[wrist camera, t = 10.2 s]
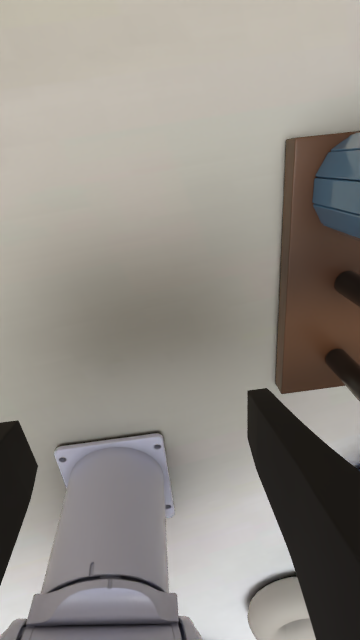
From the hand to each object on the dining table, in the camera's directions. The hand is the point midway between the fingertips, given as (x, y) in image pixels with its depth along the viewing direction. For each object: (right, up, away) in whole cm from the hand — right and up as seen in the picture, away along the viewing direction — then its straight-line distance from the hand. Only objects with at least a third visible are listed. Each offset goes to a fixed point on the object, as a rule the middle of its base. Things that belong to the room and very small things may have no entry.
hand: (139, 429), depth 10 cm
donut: (+13, -27, +26) cm, 40 cm away
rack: (+11, +6, +10) cm, 16 cm away
